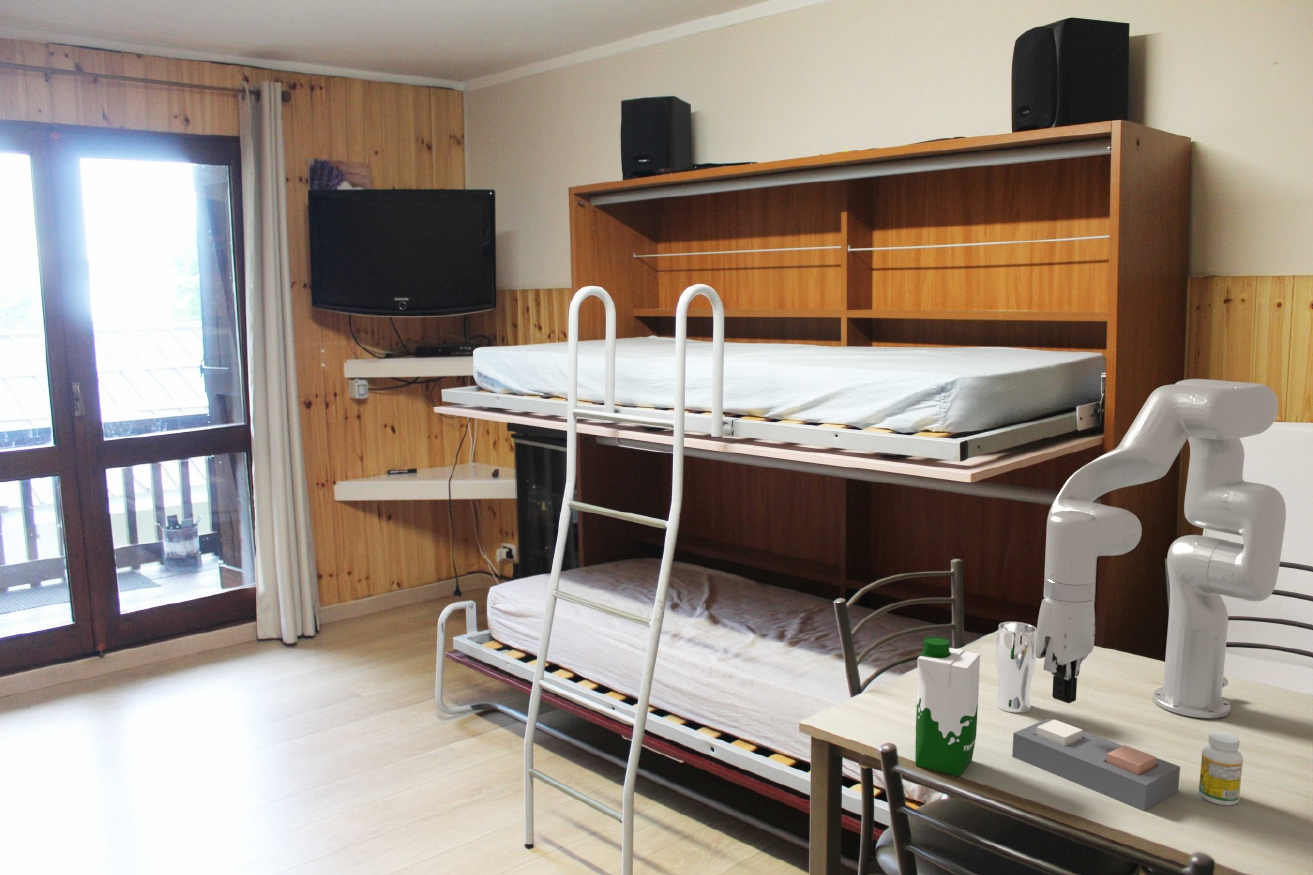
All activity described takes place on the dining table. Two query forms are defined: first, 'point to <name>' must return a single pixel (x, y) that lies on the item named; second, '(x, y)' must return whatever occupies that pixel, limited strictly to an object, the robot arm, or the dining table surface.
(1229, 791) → the supplement bottle
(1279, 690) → the dining table surface
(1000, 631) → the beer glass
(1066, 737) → the off-white key
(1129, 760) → the terracotta key
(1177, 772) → the key panel
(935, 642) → the milk carton
